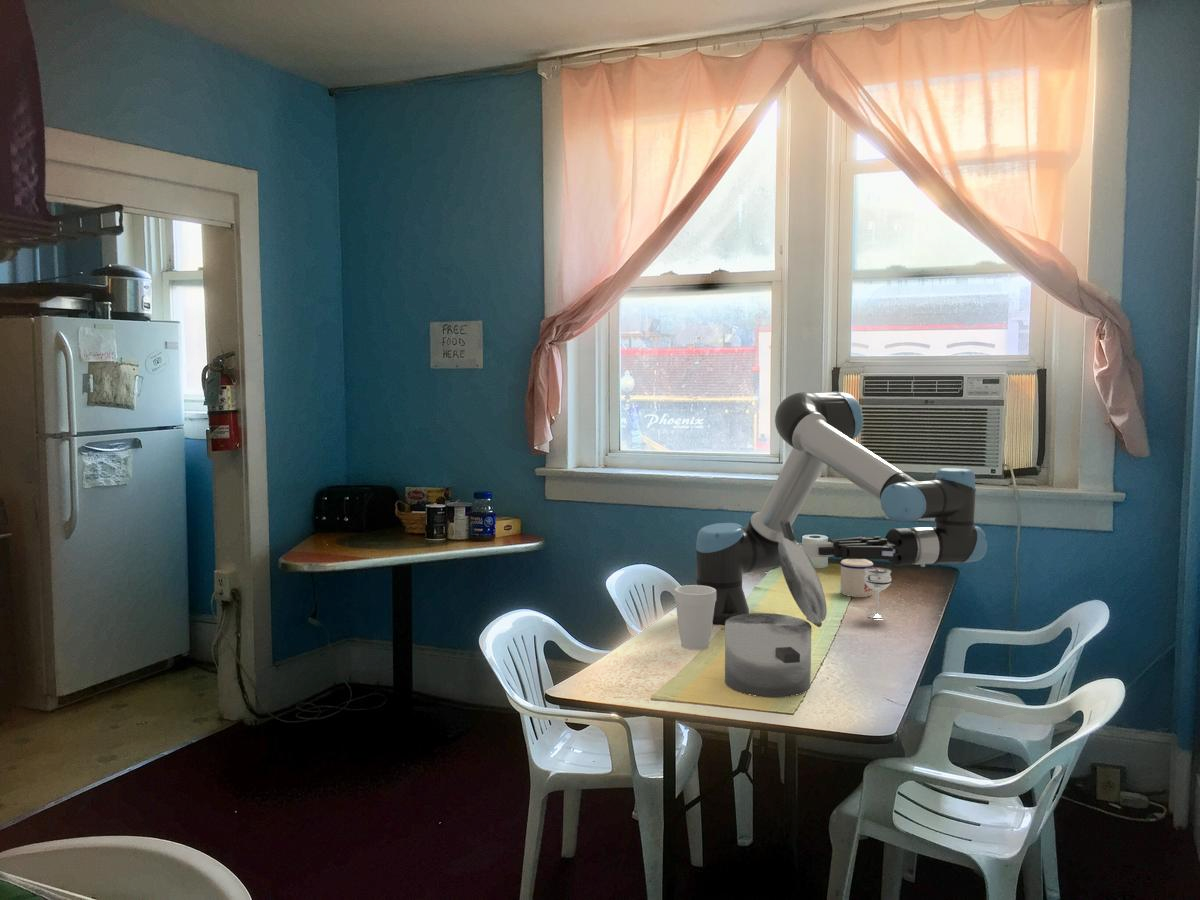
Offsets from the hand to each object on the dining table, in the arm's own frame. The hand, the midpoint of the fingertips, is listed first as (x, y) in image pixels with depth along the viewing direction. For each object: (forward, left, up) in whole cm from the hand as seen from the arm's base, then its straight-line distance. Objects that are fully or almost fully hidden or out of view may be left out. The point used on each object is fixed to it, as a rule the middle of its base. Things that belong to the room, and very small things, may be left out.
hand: (800, 550), depth 185 cm
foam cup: (-28, +13, -27) cm, 41 cm away
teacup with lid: (-9, +82, -27) cm, 87 cm away
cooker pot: (-5, -3, -27) cm, 28 cm away
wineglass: (+2, +59, -27) cm, 65 cm away
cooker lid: (-1, +1, -5) cm, 5 cm away
